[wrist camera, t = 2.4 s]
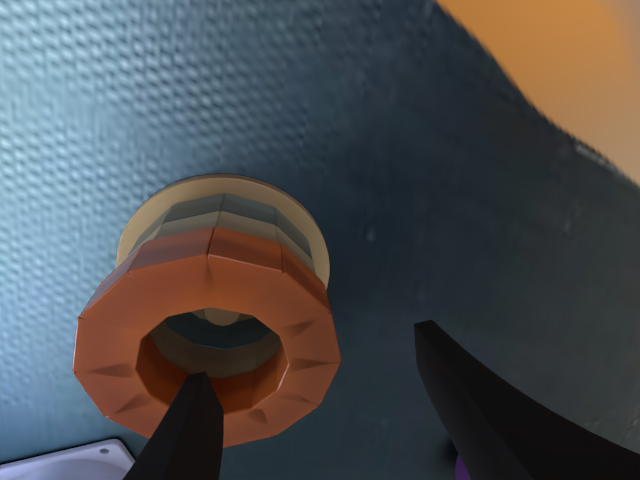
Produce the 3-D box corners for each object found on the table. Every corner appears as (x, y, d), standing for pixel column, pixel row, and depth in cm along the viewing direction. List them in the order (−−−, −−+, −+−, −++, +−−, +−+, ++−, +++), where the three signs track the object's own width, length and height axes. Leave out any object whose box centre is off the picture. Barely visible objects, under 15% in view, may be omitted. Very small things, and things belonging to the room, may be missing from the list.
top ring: (152, 426, 18) (139, 468, 16) (49, 261, 13) (16, 295, 11) (344, 380, 18) (353, 418, 16) (307, 205, 13) (314, 229, 12)
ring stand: (166, 363, 22) (144, 437, 18) (80, 200, 17) (22, 250, 13) (341, 323, 22) (358, 386, 18) (307, 151, 17) (321, 186, 13)
